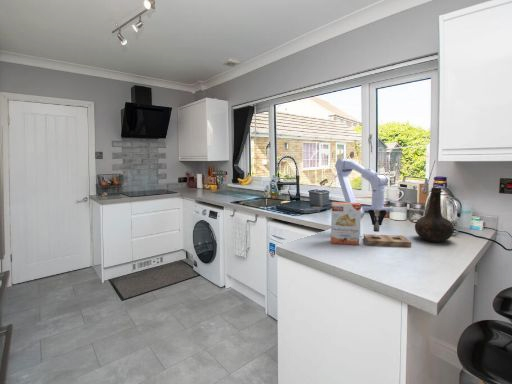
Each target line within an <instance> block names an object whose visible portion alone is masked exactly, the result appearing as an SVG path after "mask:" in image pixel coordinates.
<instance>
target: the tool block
mask: <svg viewBox="0 0 512 384" xmlns="http://www.w3.org/2000/svg"><path fill="white" fill-rule="evenodd" d="M362 237H363V238H362V239H363V240H364V242H365V243H366V244H367V246H368V247H369V246H371V247H395V248H397V247H399V248H412V241H411V240H410V239H408V238H407V237H406V236H405V235H400V234H399V235H397V234H395V235H393V234H369V233H368V234H365V233H363V236H362Z"/></svg>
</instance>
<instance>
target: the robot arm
mask: <svg viewBox="0 0 512 384" xmlns="http://www.w3.org/2000/svg"><path fill="white" fill-rule="evenodd" d="M334 168H335V170H336V174H337V178H338V182H339V185H340V187H341V191H342V196H343V198H344V201H345V203H358V202H357V200H356V197H355V194H354V192H353V188H352V185H351V182H350V179H349V175H350V174H351V173H352V172H353V171H355V172H357V173H359V174H361V177H362V178H363V179H364V180H366V181H367V182H369V185H370V186H371V205H370V206H361V217H360V230H361V228H362V227H361V226H362V225H361V223H362V220H363V218H364V216H365V212H368V214H369V216H370V219H371V225H372V226H374V224H375V222H374V220H375V215H376V212H378V214H379V215H378V216H379V221H380V226H382V224H383V220H384V219H385V217H386V215H387V213H388V212H394V207H392V206H384V204H385V203H384V202H385V186H387V184H388V177H387V176H386V175H385V174H380V173H379V172H376V171H374V170H373V168H371V167H364V166H362V165H361V164H360V163H358V162H357V160H355V159H354V158H337V160H336V161H335V164H334ZM361 237H363V236H362V234H361V233H360V237H359V238H361Z"/></svg>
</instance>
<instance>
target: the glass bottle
mask: <svg viewBox="0 0 512 384" xmlns="http://www.w3.org/2000/svg"><path fill="white" fill-rule="evenodd" d="M442 188H443V187H438V186H437V187H436V186H434V187H431V188H430V189H431V190H429V192H430V198H429V199H430V200H429V204H428V208H427V211H426V213H425V215H424V216H421V217H420V218H418V219H417V220H416V221H415V224H414V230H415V232H416V234H417V236H419V238H421V239H422V240H424V241H428V242H431V243H432V242H433V243H441V242H446V241H447V240H449V239H451V237H452V236H453V235H454V233H455V226H454V224H453V223H452V222H451V220H449V219H448V218H445V217H443V215H442V208H441V207H442V202H441V201H442V200H441V197H442V195H441V194H442V193H443V192H444V191H443V190H442Z"/></svg>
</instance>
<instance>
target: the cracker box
mask: <svg viewBox="0 0 512 384" xmlns="http://www.w3.org/2000/svg"><path fill="white" fill-rule="evenodd" d="M361 207H362V205H361V202H357V203H346V202H338V201H337V202H336V201H332V202H331V219H330V220H331V221H330V223H331V224H330V244H339V245H349V246H350V245H351V246H352V245H354V246H360V238H361V237H360V234H361V229H360V217H361Z"/></svg>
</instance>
